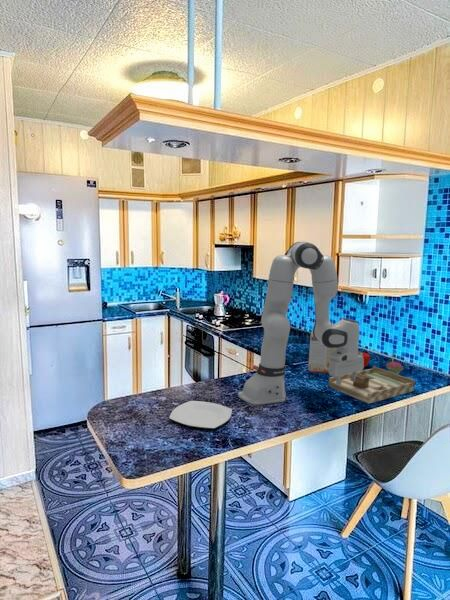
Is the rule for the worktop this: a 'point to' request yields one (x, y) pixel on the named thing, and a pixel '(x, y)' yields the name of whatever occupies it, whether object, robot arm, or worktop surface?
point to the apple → (366, 359)
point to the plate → (201, 414)
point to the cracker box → (319, 356)
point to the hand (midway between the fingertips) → (345, 382)
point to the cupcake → (394, 367)
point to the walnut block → (361, 381)
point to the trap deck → (374, 385)
